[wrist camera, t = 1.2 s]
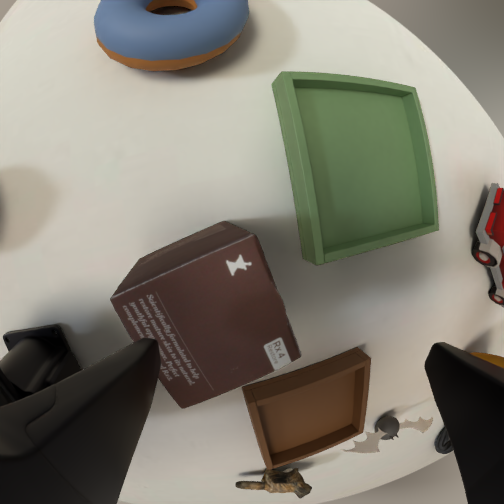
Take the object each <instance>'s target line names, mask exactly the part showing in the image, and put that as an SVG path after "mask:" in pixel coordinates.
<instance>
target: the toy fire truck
mask: <svg viewBox="0 0 504 504" xmlns="http://www.w3.org/2000/svg"><path fill="white" fill-rule="evenodd" d="M476 234H477V236H478V238H479V241H480V242H476V245H475V247H474V249H473V252H472V255H473V256H474V258H475V259H476V260H477V261H478V262H480V263H481V264H482V265H486V266H487V267H490V269H491V272H492V275H493V278H494V281H495V284H496V286H493V287H492V289H491V291H490V294H489V297H490V298H491V300H493V301H494V302H495V303H497V304H499V305H501V306H502V307H504V189H503V188H500V187H499V185H498V184H495V183H492V184H491V187H490V191H489V194H488V198H487V201H486V204H485V207H484V210H483V213H482V216H481V219H480V222H479V224H478V227H477V230H476Z"/></svg>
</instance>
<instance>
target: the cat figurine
mask: <svg viewBox="0 0 504 504" xmlns="http://www.w3.org/2000/svg"><path fill="white" fill-rule="evenodd" d="M298 470H299V469H298V468H294V469H291V468H289V469H286V470H284V472H282V471H275V470H271V469H270V470H267V468H266V470H265V473H264V476H263V478H262V480H261V481H262V482H258V481H257V482H255V481H252V482H251V481H239V482H236V487H237V488H241V489H251V490H254V489H256V490H267V491H268V492H270V493H277V492H278V493H286V492H294V493H295V494H296V495H297V496H298V497H299V498H302V497H303V496H305V495H307V494H309V493H310V491H311V489H312V487H311V486H309V484H306V483H305V482H304V479H303V477H302V476H301V475H300V473H299V472H298Z"/></svg>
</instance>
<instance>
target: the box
mask: <svg viewBox="0 0 504 504" xmlns="http://www.w3.org/2000/svg"><path fill="white" fill-rule="evenodd" d="M110 300H111V303H112V304H113V307H114V309H115V311H116V312H117V314H118V316H119V318H120V319H121V321H122V323H123V325H124V327H125V328H126V330H127V332H128V333H129V335H130V337H131V338H132V340H133V342H136V341H138V340H140V339H142V338H144V337H146V338H152V339H156V340H157V341H158V344H159V351H160V358H161V368H160V372H159V376H158V379H159V380H160V381H161V383H162V384H163V386H164V387H165V388H166V390H167V391H168V393H169V394H170V395H171V396H172V397H173V399H174V400H175V401H176V403H177V404H178V405H179V406H180V407H181V408H186V407H189V406H192V405H195V404H198V403H201V402H203V401H205V400H208V399H211V398H214V397H216V396H218V395H221V394H223V393H226V392H228V391H231V390H233V389H235V388H238V387H240V386H242V385H245V384H247V383H249V382H251V381H254V380H256V379H258V378H261V377H263V376H265V375H267V374H269V373H271V372H274V371H276V370H278V369H280V368H282V367H284V366H286V365H288V364H289V363H291V362H293V361H295V360H296V359H298V358H300V357H301V351H300V349H299V346H298V344H297V341H296V338H295V336H294V333H293V330H292V327H291V325H290V322H289V319H288V317H287V315H286V310H285V306H284V303H283V300H282V298H281V296H280V294H279V292H278V291H277V288H276V285H275V283H274V280H273V277H272V275H271V272H270V269H269V267H268V264H267V261H266V259H265V256H264V252H263V250H262V248H261V245H260V243H259V240H258V238H257V236H256V235H255V234H254V233H250V232H248V231H247V230H244V229H241V228H239V227H237V226H235V225H233V224H230V223H228V222H226V221H222V222H220V223H217V224H215V225H213V226H210V227H208V228H206V229H204V230H201V231H199V232H197V233H194V234H192V235H190V236H188V237H186V238H183V239H181V240H179V241H177V242H174V243H172V244H170V245H168V246H166V247H163V248H161V249H159V250H157V251H155V252H153V253H151V254H148V255H146V256H144V257H142V258H140V259H139V260H138V262H137V263H136V264H135V265H134V267H133V268H132V269H131V271H130V272H129V273H128V275H127V276H126V277H125V279H124V280H123V281H122V283H121V284H120V285H119V286H118V289H117V290H116V291H115V293H114V294H113V296H112V297H111V298H110Z"/></svg>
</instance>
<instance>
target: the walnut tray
mask: <svg viewBox="0 0 504 504" xmlns="http://www.w3.org/2000/svg"><path fill="white" fill-rule="evenodd" d="M370 365H371V358H370V357H369V356H368V355H367V354H365V353H364V352H363V351H362V350H360V349H359V348H358V347H356V348H354V349H352V350H349V351H347V352H345V353H342V354H340V355H337V356H335V357H332V358H330V359H327V360H324V361H322V362H319V363H316V364H314V365H311V366H308V367H305V368H302V369H299V370H297V371H294V372H291V373H288V374H285V375H281V376H278V377H275V378H272V379H268V380H265V381H262V382H258V383H255V384H251V385H248V386H244V387H242V390H243V394H244V398H245V401H246V405H247V408H248V412H249V415H250V418H251V422H252V425H253V429H254V432H255V435H256V438H257V442H258V445H259V448H260V451H261V454H262V457H263V460H264V462H265V465H266V467H267V470H270V469H273V468H277V467H280V466H283V465H286V464H289V463H292V462H295V461H298V460H301V459H304V458H306V457H309V456H312V455H314V454H317V453H319V452H322V451H324V450H327V449H329V448H331V447H334V446H336V445H338V444H340V443H342V442H345V441H347V440H349V439H351V438H353V437H355V436H357V435H359V434H361V433H363V430H364V423H365V416H366V408H367V400H368V390H369V379H370Z"/></svg>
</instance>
